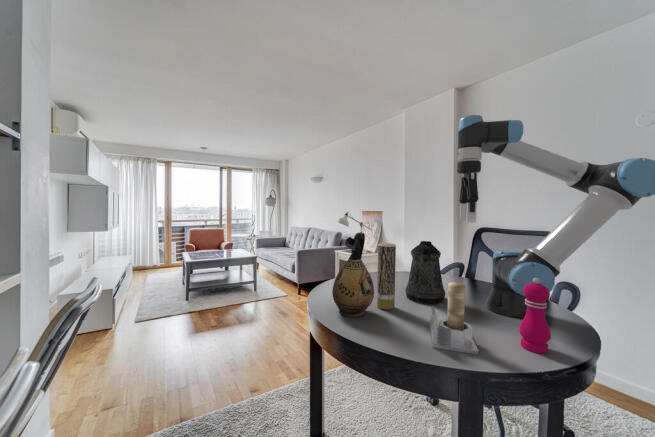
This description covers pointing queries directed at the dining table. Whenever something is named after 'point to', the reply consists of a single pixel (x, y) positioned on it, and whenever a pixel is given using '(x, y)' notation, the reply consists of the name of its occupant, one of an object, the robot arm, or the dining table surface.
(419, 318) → the dining table surface
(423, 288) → the black tapered vessel
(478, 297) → the dining table surface
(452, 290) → the wooden spindle
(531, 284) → the pepper mill
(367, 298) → the ceramic jug
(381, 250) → the paper tube
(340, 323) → the dining table surface
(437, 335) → the cup bracket
